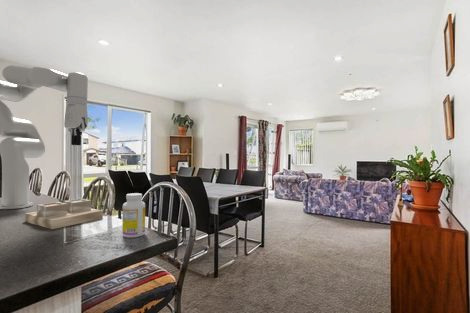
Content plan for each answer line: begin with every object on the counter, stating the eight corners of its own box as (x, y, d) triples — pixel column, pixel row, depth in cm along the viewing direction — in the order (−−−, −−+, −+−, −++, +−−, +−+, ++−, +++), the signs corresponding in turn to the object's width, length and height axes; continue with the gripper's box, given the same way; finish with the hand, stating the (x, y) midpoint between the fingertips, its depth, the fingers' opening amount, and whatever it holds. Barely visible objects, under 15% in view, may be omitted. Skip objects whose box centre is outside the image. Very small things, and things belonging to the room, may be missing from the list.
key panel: (25, 221, 95) (25, 203, 95) (75, 212, 110) (75, 196, 110) (52, 229, 86) (52, 209, 86) (102, 218, 102) (102, 201, 102)
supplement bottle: (137, 230, 87) (138, 192, 87) (149, 234, 82) (149, 194, 82) (118, 235, 81) (118, 194, 81) (129, 240, 77) (129, 196, 77)
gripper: (58, 102, 113) (57, 144, 113) (78, 99, 106) (77, 144, 106) (76, 105, 120) (75, 145, 120) (96, 103, 112) (94, 145, 112)
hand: (76, 145), depth 113 cm, fingers closed
